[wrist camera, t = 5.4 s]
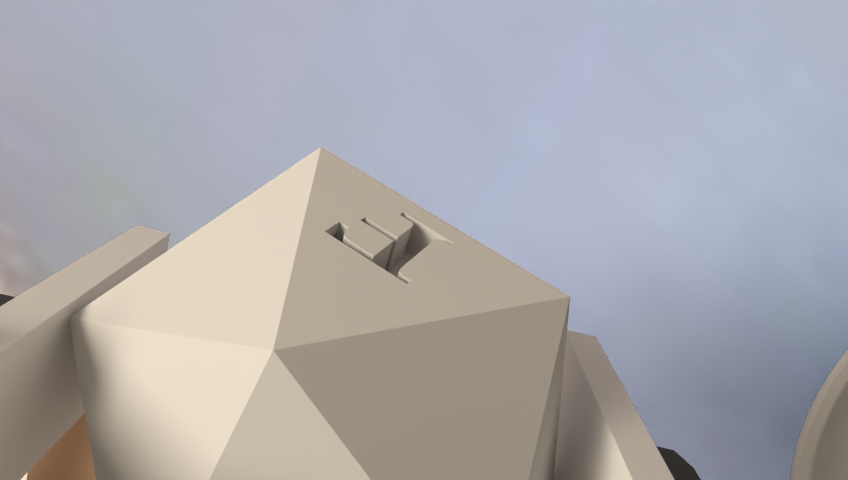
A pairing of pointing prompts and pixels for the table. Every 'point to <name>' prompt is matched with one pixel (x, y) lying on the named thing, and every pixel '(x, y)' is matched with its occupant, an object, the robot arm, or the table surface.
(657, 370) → the table surface
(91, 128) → the table surface
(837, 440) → the dish
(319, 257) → the die
